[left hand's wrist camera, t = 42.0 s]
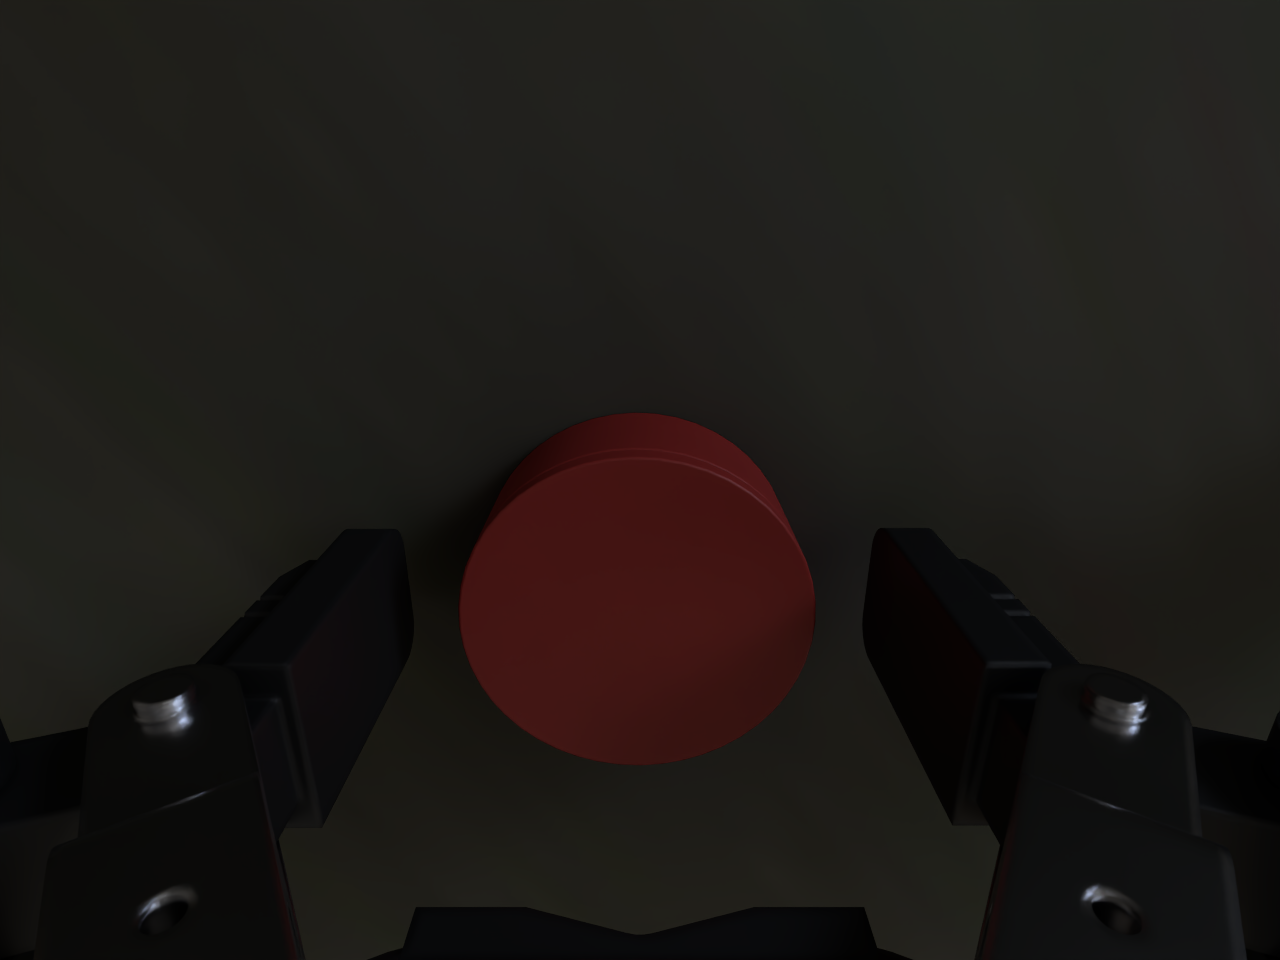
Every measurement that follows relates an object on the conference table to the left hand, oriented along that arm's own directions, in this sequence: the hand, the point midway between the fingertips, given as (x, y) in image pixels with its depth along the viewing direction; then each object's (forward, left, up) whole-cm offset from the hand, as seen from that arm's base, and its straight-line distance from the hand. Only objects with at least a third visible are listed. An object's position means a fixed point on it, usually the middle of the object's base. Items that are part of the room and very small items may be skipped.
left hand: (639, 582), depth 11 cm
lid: (0, 0, +1) cm, 1 cm away
